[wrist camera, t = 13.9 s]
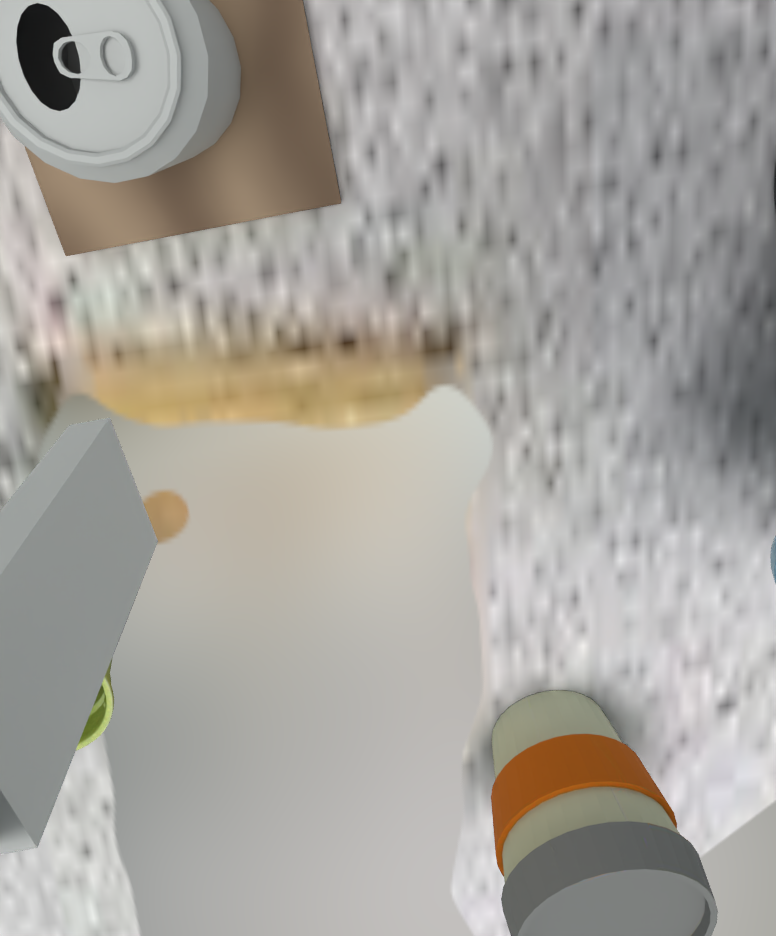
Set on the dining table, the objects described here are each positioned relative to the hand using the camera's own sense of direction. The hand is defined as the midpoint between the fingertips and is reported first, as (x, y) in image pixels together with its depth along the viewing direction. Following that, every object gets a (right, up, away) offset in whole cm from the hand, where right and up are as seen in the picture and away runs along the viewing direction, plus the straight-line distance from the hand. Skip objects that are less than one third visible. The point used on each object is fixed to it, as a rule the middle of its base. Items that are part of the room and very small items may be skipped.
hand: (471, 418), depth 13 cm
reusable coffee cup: (+11, -21, +42) cm, 49 cm away
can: (-12, +17, +19) cm, 28 cm away
